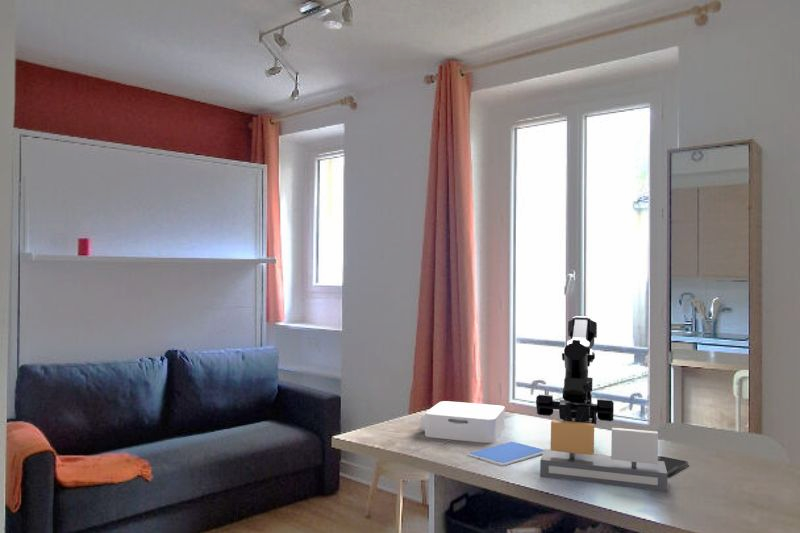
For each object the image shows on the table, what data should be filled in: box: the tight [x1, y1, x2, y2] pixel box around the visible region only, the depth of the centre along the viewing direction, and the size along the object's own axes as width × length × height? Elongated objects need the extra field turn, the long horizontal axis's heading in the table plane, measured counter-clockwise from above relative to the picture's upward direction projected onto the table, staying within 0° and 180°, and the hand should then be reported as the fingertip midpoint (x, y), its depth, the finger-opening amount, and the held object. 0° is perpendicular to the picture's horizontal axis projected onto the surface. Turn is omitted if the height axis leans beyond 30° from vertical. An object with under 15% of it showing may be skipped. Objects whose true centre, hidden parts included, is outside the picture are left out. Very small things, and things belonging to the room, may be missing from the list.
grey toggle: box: [610, 427, 659, 466], centre depth 149 cm, size 2×10×8 cm, turn 71°
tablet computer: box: [466, 441, 545, 467], centre depth 172 cm, size 19×13×1 cm, turn 132°
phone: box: [658, 455, 689, 478], centre depth 163 cm, size 8×1×15 cm
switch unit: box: [539, 448, 668, 492], centre depth 154 cm, size 10×28×4 cm, turn 72°
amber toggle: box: [550, 419, 595, 457], centre depth 156 cm, size 2×10×8 cm, turn 71°
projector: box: [420, 400, 506, 444], centre depth 196 cm, size 21×22×7 cm
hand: (572, 436), depth 157 cm, fingers closed, pressing on amber toggle
